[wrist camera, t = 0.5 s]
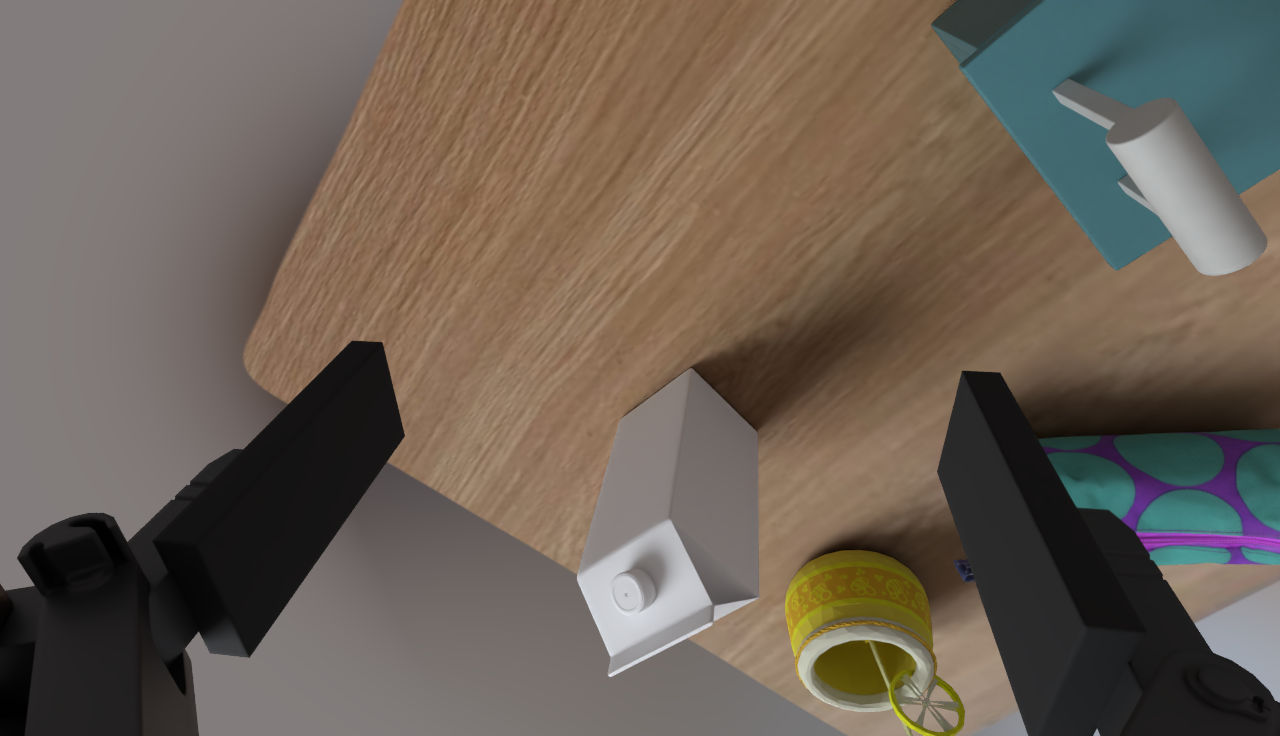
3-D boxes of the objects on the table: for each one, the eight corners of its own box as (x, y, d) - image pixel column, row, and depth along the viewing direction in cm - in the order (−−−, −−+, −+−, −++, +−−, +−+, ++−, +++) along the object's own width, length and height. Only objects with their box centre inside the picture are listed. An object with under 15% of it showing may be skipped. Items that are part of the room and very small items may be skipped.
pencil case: (937, 514, 52) (972, 621, 44) (941, 415, 48) (980, 514, 40) (1265, 501, 48) (1370, 618, 40) (1302, 392, 43) (1429, 497, 35)
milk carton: (758, 431, 50) (761, 663, 34) (685, 478, 54) (655, 711, 38) (691, 365, 48) (660, 579, 32) (619, 418, 51) (557, 638, 35)
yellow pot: (754, 579, 58) (755, 715, 48) (867, 517, 53) (894, 655, 43) (852, 661, 62) (871, 804, 52) (965, 611, 57) (1012, 758, 47)
